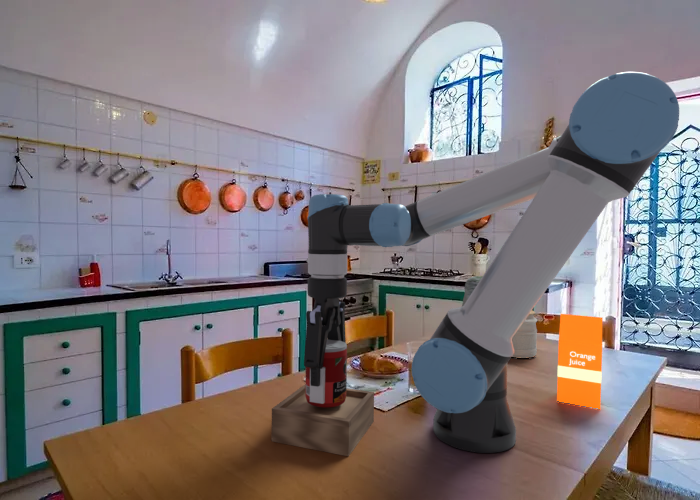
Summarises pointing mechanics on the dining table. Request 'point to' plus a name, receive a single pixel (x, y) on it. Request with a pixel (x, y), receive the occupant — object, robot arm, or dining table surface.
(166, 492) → the dining table surface
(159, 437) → the dining table surface
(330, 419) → the box
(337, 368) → the canned food
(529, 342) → the jar
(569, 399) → the orange juice
